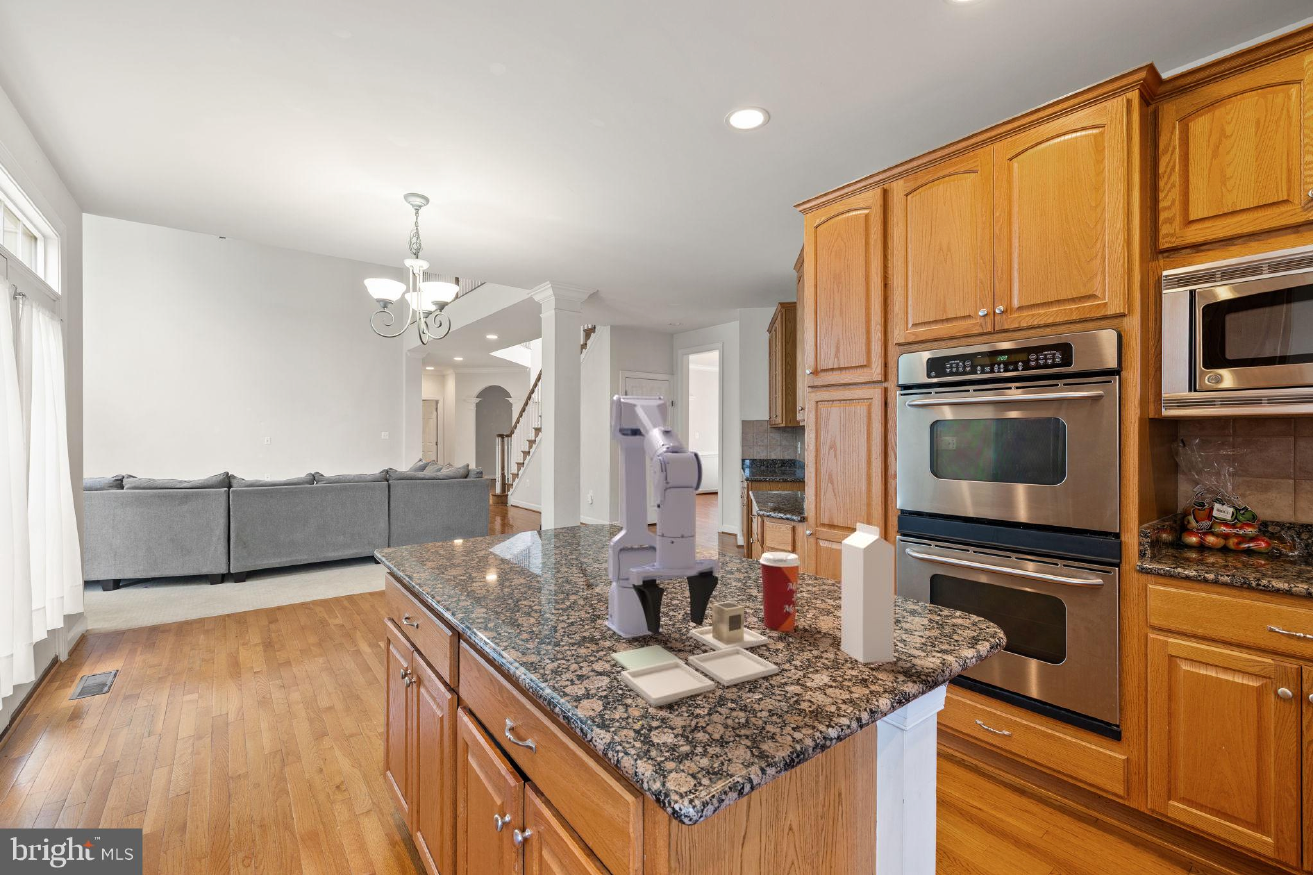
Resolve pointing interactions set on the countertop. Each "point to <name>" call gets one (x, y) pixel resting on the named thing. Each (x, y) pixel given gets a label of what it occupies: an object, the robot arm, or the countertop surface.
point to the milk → (867, 596)
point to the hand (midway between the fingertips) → (675, 627)
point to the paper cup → (779, 589)
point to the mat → (643, 657)
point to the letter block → (728, 622)
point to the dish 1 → (666, 682)
